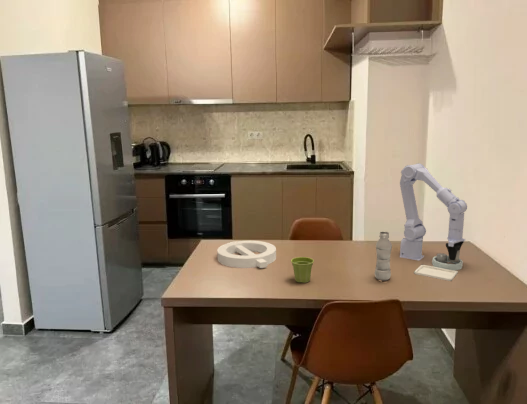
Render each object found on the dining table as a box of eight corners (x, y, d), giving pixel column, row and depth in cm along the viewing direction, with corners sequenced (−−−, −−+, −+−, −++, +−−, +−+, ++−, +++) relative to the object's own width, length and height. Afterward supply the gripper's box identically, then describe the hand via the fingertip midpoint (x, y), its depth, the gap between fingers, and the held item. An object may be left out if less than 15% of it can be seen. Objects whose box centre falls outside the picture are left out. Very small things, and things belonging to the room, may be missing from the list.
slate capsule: (434, 265, 196) (435, 255, 195) (437, 262, 199) (438, 252, 198) (445, 267, 193) (445, 257, 192) (447, 264, 197) (448, 254, 196)
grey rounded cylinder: (447, 261, 192) (447, 251, 191) (449, 258, 196) (450, 248, 195) (457, 263, 190) (458, 252, 189) (460, 260, 193) (460, 250, 192)
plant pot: (286, 279, 183) (286, 259, 181) (303, 274, 189) (303, 255, 187) (301, 286, 176) (301, 266, 174) (318, 281, 181) (318, 260, 179)
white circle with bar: (265, 271, 194) (265, 261, 193) (207, 265, 203) (207, 255, 202) (282, 251, 220) (282, 242, 219) (230, 247, 229) (230, 238, 228)
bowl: (429, 268, 194) (429, 261, 193) (436, 260, 203) (437, 253, 202) (458, 273, 187) (458, 266, 186) (464, 265, 196) (465, 258, 195)
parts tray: (413, 275, 186) (413, 271, 186) (421, 267, 194) (421, 264, 194) (451, 282, 177) (451, 279, 177) (457, 274, 186) (457, 271, 186)
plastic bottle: (391, 277, 184) (393, 231, 180) (390, 283, 177) (392, 235, 173) (375, 275, 186) (376, 230, 182) (373, 281, 179) (375, 234, 175)
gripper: (461, 233, 182) (459, 264, 184) (469, 225, 193) (467, 255, 196) (444, 231, 186) (441, 261, 188) (452, 223, 197) (450, 252, 200)
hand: (453, 258), depth 192 cm, fingers closed on grey rounded cylinder, 4 cm apart
